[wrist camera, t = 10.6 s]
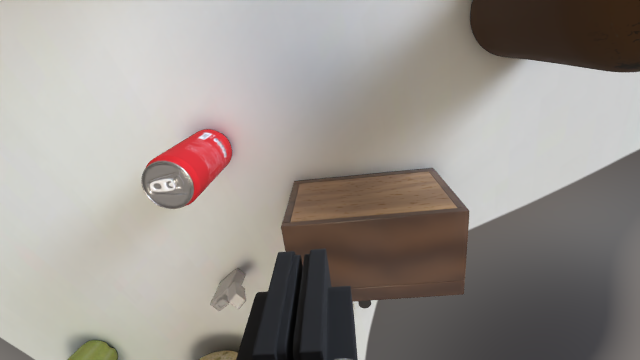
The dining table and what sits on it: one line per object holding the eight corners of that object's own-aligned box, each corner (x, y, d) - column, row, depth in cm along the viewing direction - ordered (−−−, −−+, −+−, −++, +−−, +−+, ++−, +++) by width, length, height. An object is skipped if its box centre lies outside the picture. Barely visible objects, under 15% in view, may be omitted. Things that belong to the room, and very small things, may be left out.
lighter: (228, 289, 48) (209, 333, 41) (219, 283, 48) (198, 325, 40) (259, 263, 46) (245, 304, 39) (250, 256, 46) (234, 296, 38)
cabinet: (294, 181, 41) (280, 226, 30) (433, 167, 39) (469, 210, 29) (304, 244, 44) (295, 305, 34) (432, 234, 43) (464, 294, 33)
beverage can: (238, 164, 40) (203, 208, 29) (200, 169, 41) (150, 214, 30) (228, 124, 38) (186, 154, 27) (187, 130, 39) (129, 162, 28)
